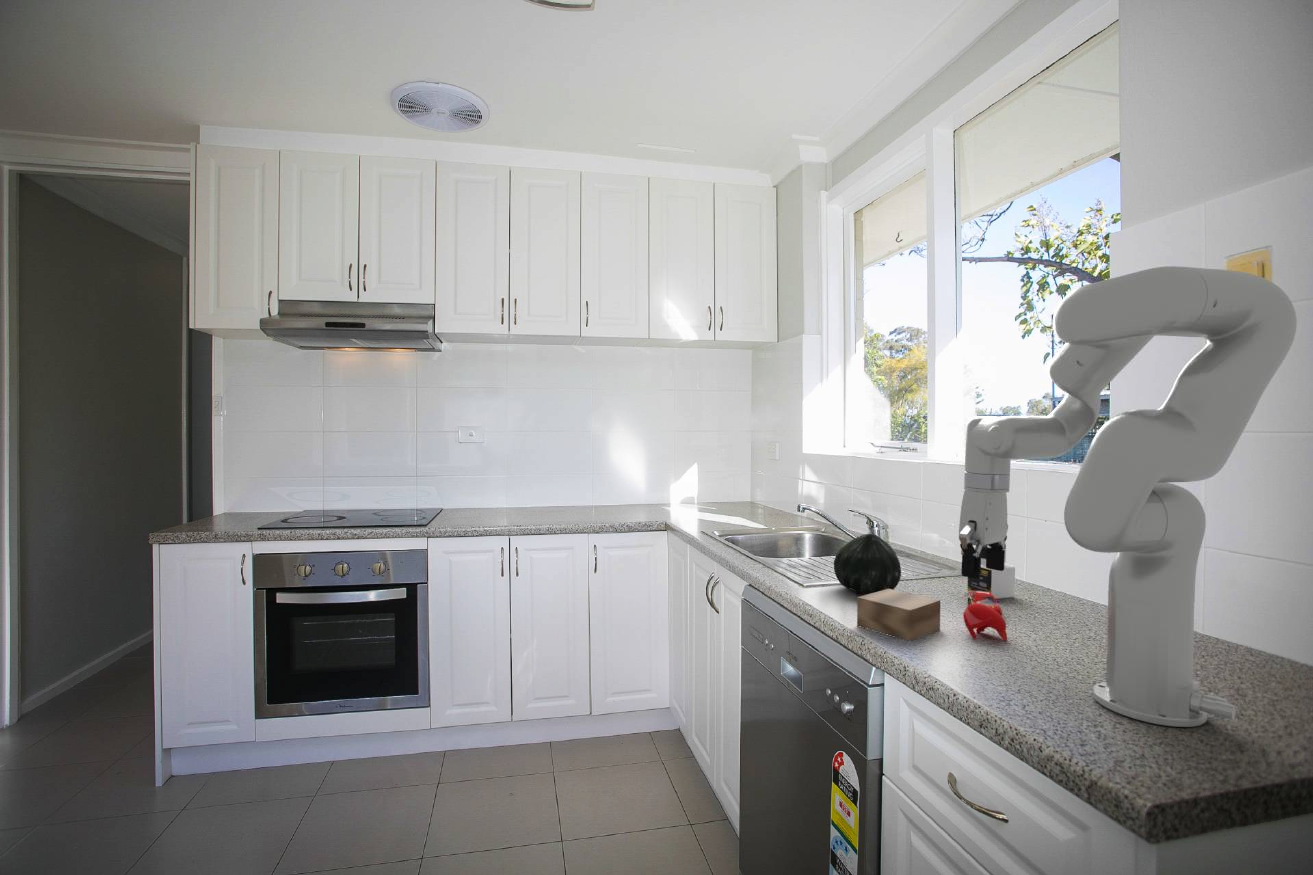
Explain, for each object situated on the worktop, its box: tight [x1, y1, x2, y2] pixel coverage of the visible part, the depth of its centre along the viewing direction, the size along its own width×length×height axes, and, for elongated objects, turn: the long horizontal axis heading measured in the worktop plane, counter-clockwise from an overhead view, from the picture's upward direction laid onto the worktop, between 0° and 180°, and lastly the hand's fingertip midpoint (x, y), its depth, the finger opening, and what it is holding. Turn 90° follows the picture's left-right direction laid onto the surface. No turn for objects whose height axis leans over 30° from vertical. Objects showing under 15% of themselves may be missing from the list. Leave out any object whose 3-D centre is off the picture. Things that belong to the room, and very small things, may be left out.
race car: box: [967, 591, 1003, 617], centre depth 136 cm, size 13×5×4 cm, turn 161°
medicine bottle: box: [967, 545, 1016, 600], centre depth 149 cm, size 7×7×12 cm
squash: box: [833, 533, 902, 595], centre depth 151 cm, size 14×15×15 cm
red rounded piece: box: [962, 603, 1008, 642], centre depth 119 cm, size 8×6×6 cm
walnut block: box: [856, 589, 941, 642], centre depth 124 cm, size 11×11×6 cm
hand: (983, 573), depth 120 cm, fingers open, 9 cm apart
